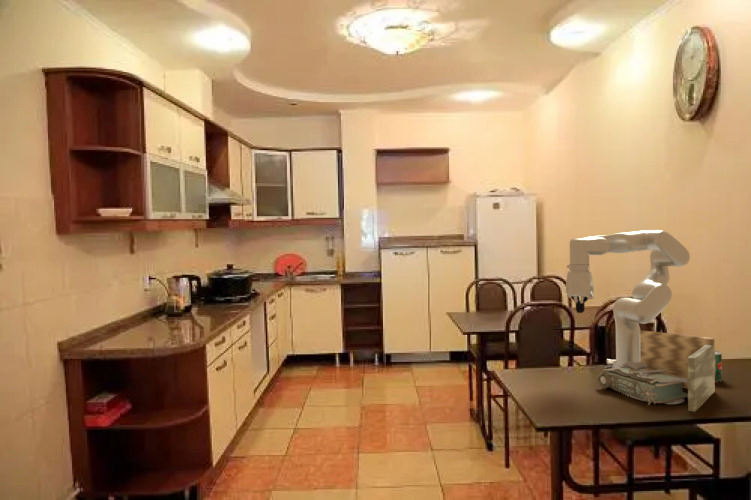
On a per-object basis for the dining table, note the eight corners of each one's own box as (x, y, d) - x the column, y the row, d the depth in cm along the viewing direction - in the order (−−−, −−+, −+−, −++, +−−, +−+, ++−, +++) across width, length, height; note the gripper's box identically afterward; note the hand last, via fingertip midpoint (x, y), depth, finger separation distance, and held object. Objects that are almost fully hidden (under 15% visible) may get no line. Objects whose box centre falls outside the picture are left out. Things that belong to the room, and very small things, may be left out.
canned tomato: (726, 381, 204) (726, 354, 203) (706, 382, 204) (706, 354, 203) (713, 376, 211) (713, 349, 211) (694, 376, 212) (694, 349, 211)
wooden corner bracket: (616, 396, 190) (616, 342, 189) (642, 379, 210) (641, 330, 209) (695, 411, 172) (694, 352, 171) (714, 391, 192) (714, 338, 191)
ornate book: (593, 390, 201) (662, 411, 174) (592, 365, 201) (661, 382, 174) (635, 382, 210) (707, 401, 183) (634, 358, 210) (706, 374, 182)
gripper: (558, 268, 216) (558, 312, 217) (594, 269, 205) (594, 315, 206) (566, 267, 221) (566, 309, 222) (601, 268, 211) (602, 312, 211)
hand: (580, 312), depth 214 cm, fingers closed
